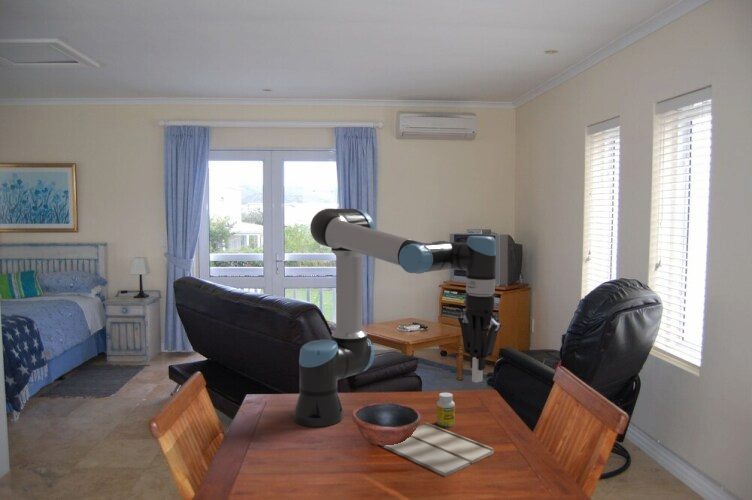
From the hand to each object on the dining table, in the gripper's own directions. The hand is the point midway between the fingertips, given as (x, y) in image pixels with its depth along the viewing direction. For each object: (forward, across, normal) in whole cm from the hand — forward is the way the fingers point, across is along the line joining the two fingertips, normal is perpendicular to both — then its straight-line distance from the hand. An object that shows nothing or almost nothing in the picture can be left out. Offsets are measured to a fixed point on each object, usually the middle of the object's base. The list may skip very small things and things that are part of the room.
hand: (477, 381), depth 148 cm
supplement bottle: (+19, -16, +6) cm, 25 cm away
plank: (+18, -5, -5) cm, 20 cm away
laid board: (+19, -5, -15) cm, 25 cm away
